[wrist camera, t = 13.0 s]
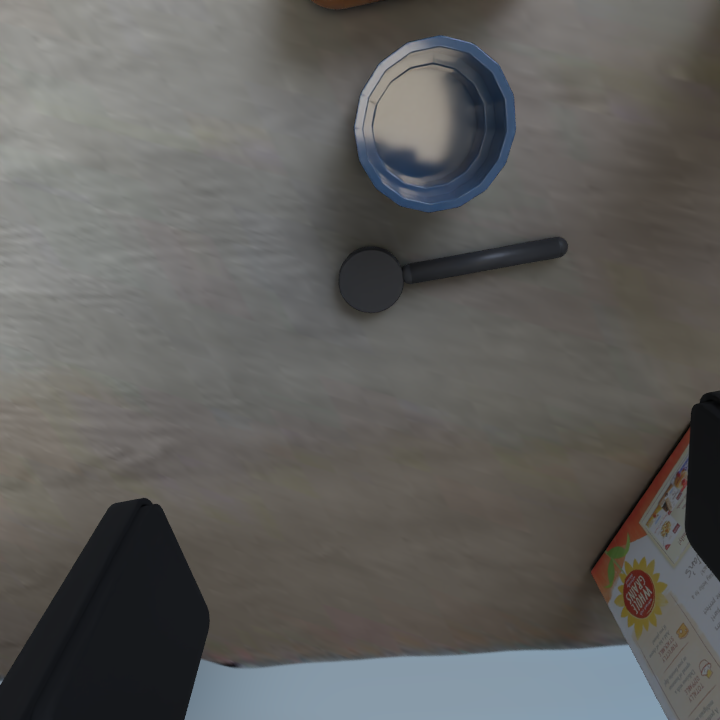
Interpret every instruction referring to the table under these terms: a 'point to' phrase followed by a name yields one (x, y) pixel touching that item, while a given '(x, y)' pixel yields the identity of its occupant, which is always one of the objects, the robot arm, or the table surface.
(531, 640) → the table surface
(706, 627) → the cracker box
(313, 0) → the bun
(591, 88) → the table surface
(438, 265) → the spoon
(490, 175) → the bowl
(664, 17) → the table surface
